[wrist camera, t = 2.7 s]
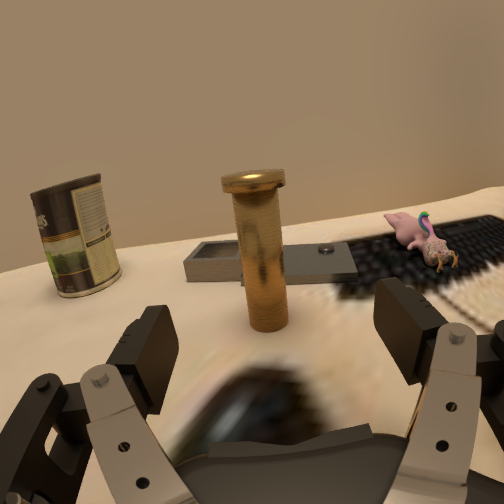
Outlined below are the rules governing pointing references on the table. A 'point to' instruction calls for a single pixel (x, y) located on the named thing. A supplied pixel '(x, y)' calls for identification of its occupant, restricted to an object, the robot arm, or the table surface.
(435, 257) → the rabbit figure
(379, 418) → the table surface
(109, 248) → the coffee can
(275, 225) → the hinge pin
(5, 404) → the table surface
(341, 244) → the grey tray fixture
